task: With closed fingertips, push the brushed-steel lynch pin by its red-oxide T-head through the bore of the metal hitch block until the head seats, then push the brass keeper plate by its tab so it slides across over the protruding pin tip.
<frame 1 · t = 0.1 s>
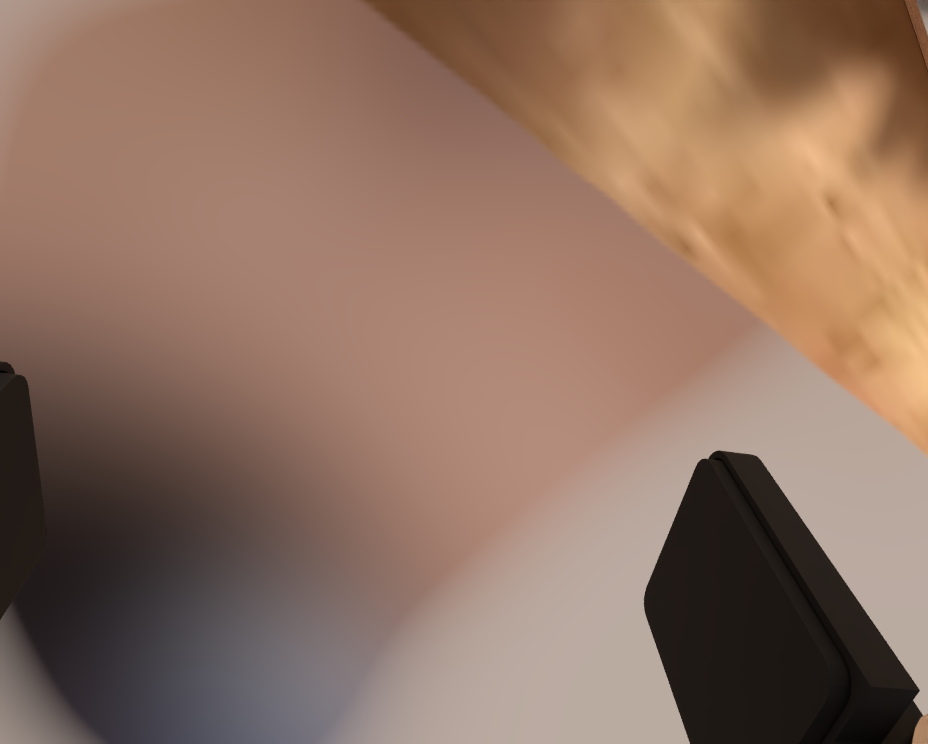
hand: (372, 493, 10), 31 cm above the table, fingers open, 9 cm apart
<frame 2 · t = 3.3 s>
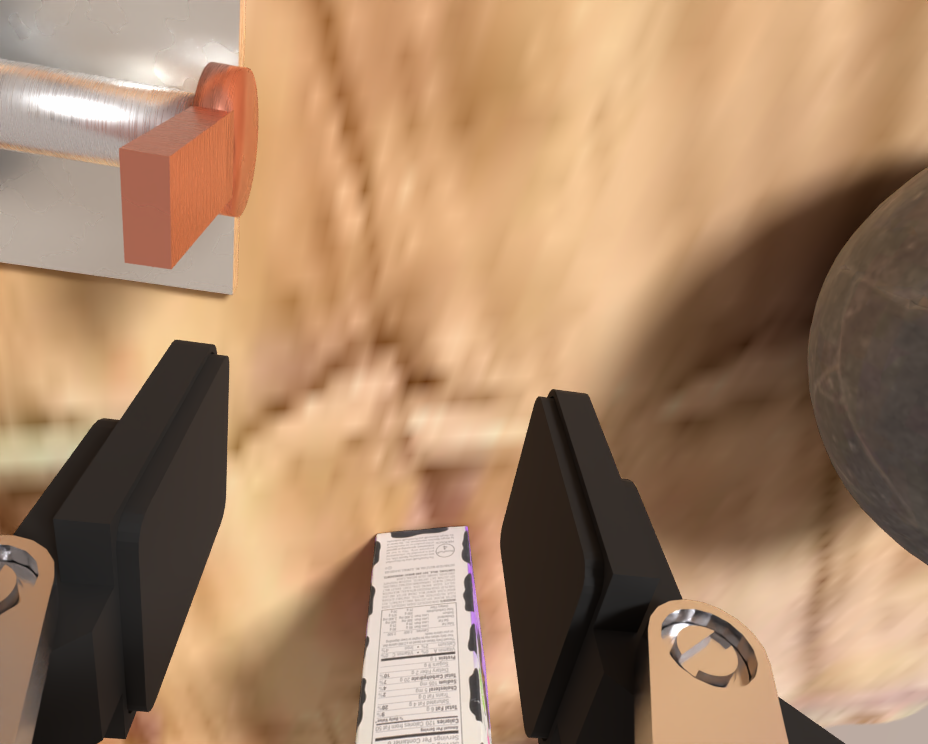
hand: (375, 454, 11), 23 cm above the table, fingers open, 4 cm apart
candy box: (433, 607, 46), on the table
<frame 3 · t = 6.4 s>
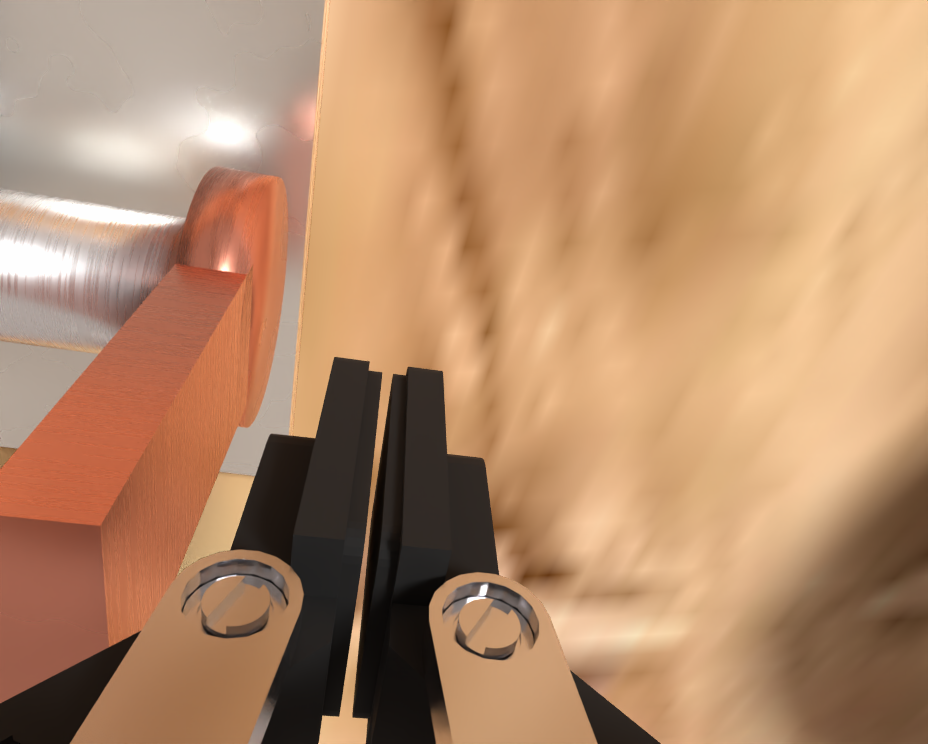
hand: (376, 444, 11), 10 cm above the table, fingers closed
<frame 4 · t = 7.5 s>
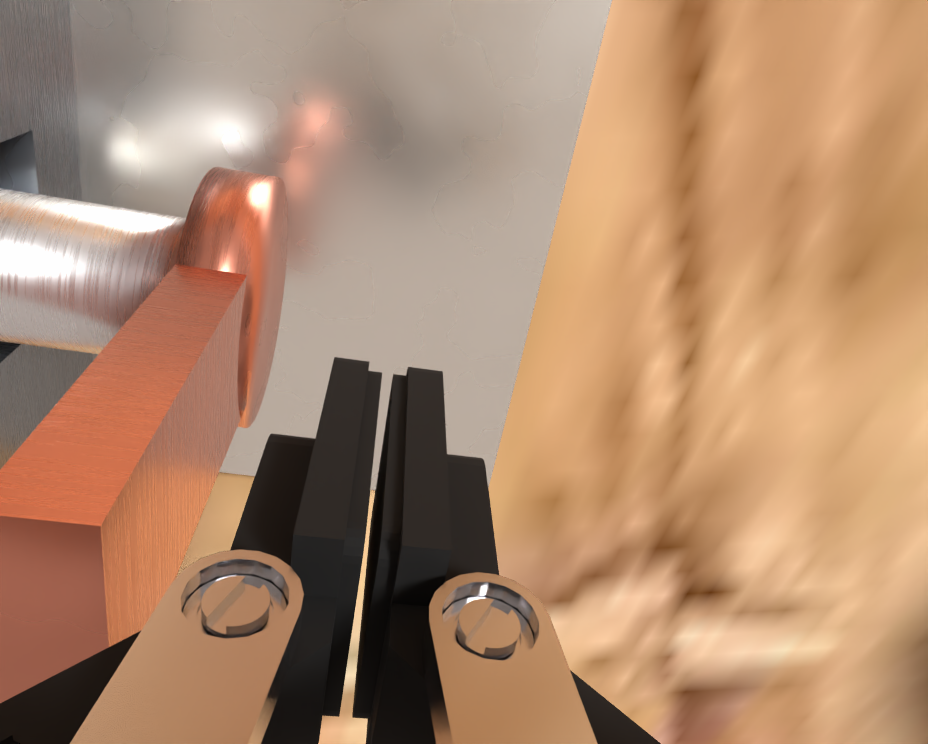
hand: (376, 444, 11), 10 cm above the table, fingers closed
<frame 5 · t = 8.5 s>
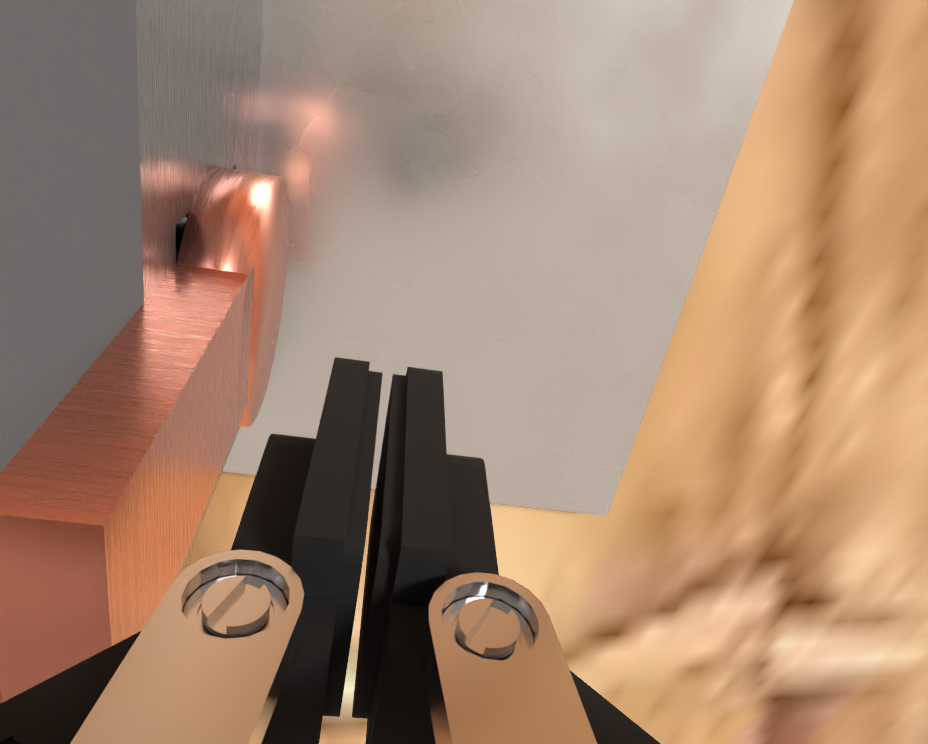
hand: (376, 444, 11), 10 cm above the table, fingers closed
hitch block: (66, 185, 19), on the table
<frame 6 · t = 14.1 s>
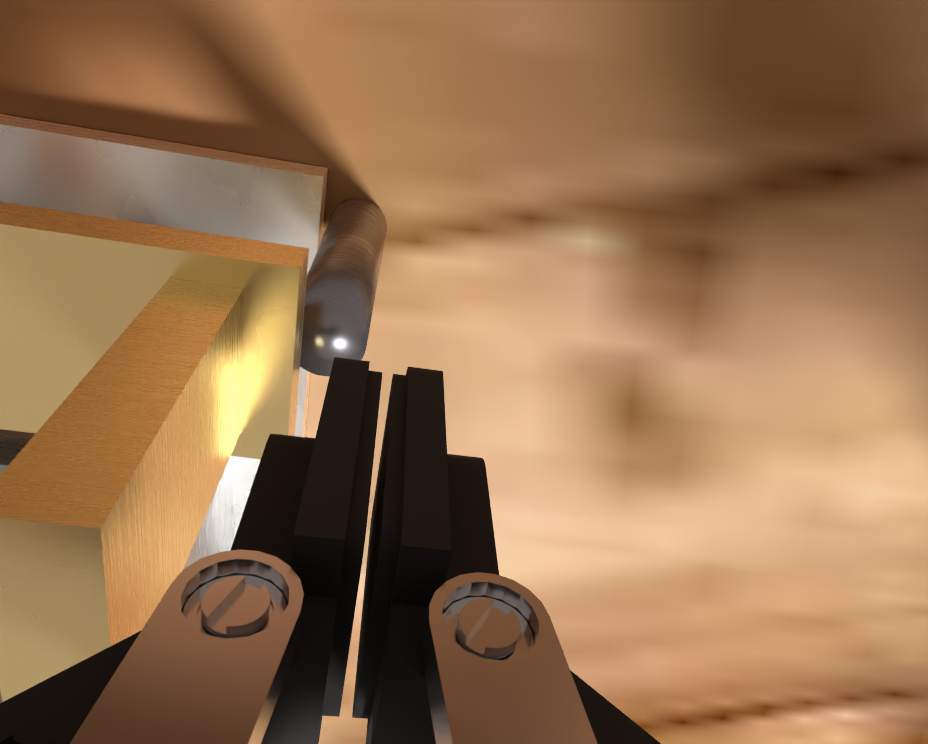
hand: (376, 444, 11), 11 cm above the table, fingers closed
hitch block: (53, 406, 23), on the table
keeper plate: (15, 424, 10), point 11 cm above the table, slide at 0.4 cm, touching gripper
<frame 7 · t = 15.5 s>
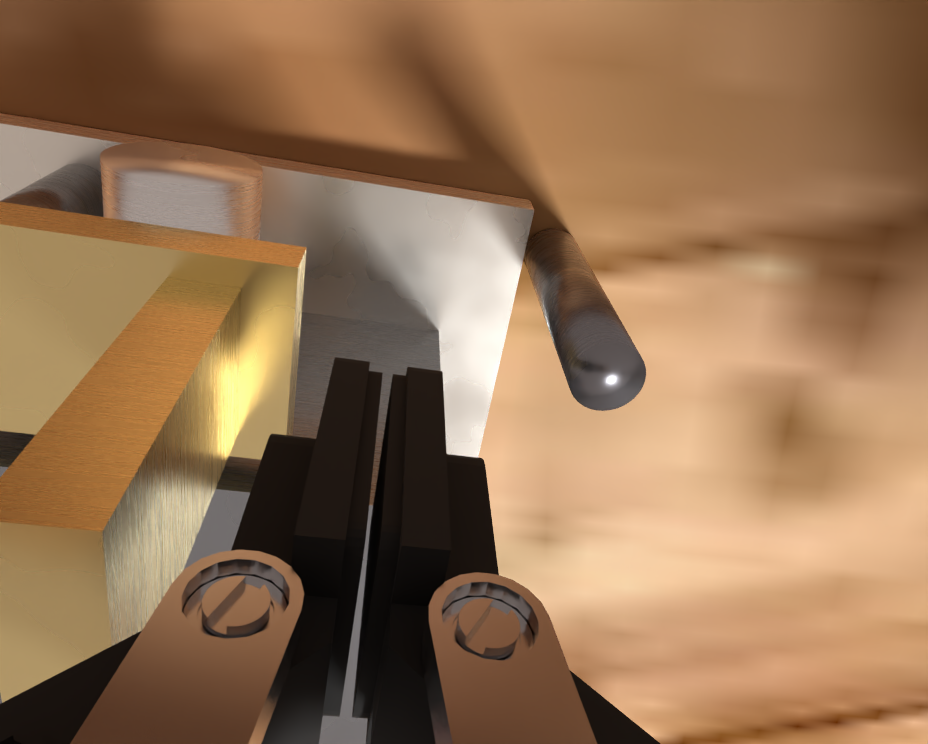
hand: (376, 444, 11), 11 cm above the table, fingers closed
hitch block: (234, 427, 24), on the table
lynch pin: (147, 571, 15), point 8 cm above the table, slide at 12.0 cm, touching hitch block
keeper plate: (12, 425, 10), point 11 cm above the table, slide at 6.2 cm, touching gripper
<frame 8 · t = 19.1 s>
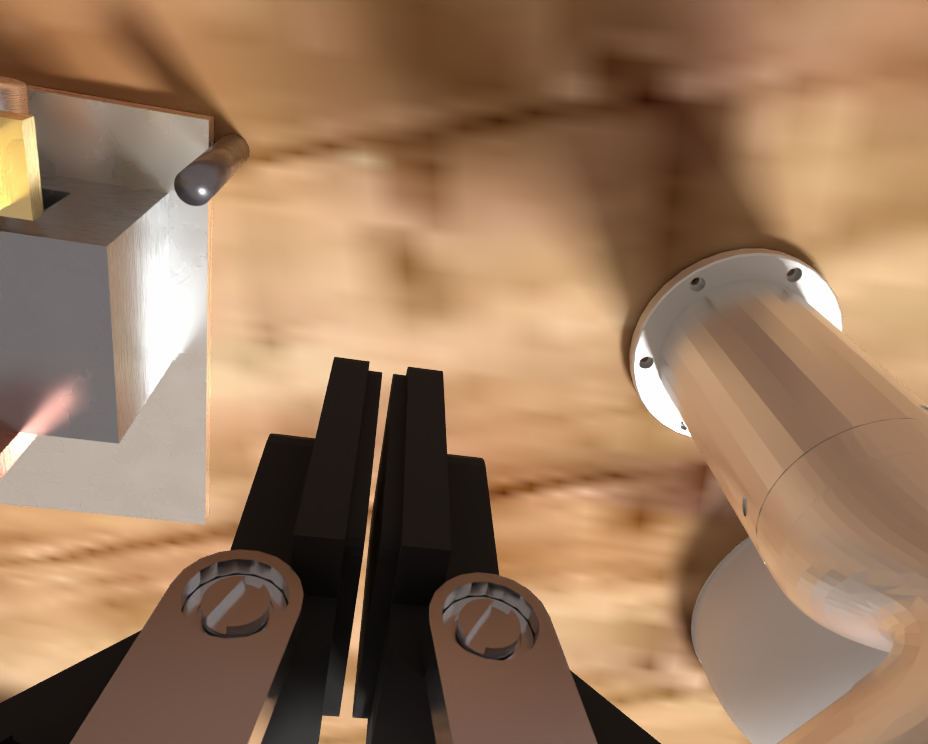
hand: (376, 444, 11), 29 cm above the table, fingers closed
hitch block: (62, 260, 39), on the table
kettle: (835, 613, 57), on the table
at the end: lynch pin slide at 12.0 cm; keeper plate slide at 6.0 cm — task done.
